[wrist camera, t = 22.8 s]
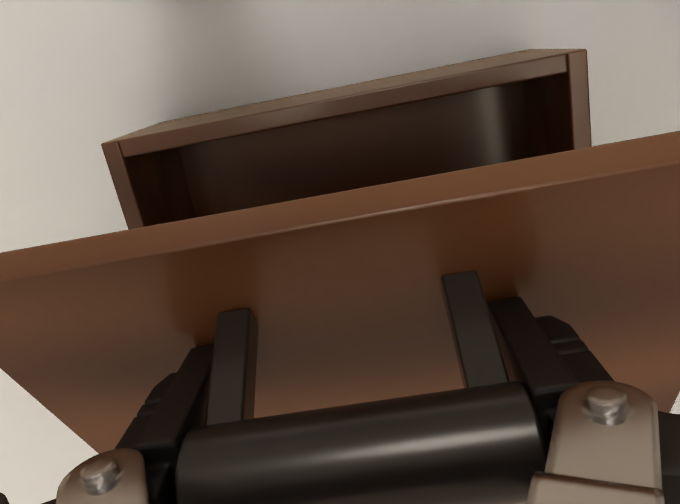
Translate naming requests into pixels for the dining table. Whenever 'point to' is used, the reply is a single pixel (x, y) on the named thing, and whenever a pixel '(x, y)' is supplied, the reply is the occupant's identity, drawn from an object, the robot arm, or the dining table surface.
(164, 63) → the dining table surface
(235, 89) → the dining table surface
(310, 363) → the lid
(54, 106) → the dining table surface
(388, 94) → the chest
